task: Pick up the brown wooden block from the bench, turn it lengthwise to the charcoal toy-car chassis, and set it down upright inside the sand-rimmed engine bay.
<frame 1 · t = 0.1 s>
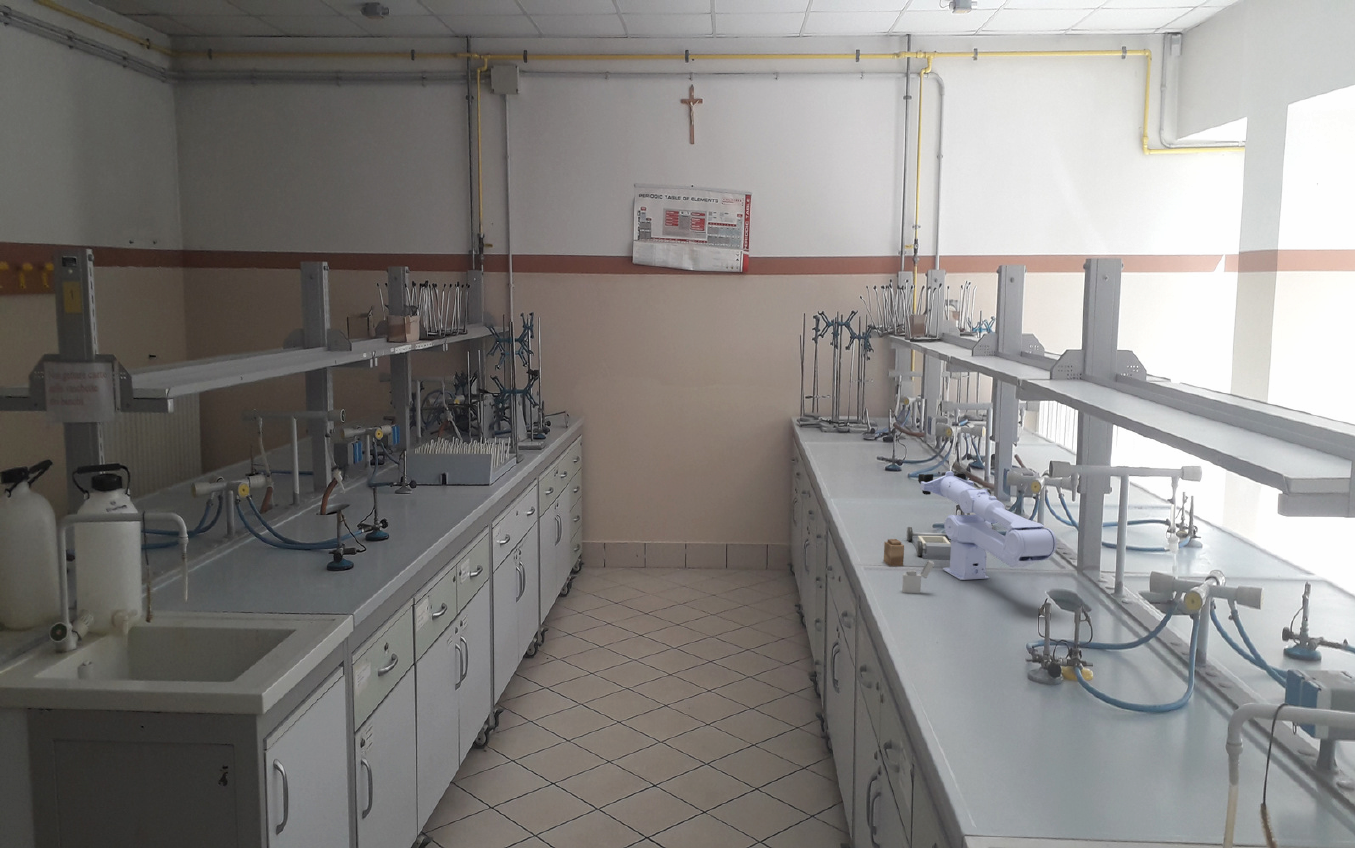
hand: (932, 477, 264), 22 cm above the worktop, tool horizontal, fingers open, 7 cm apart
brown wooden block: (893, 563, 257), on the worktop
medicine bottle: (978, 527, 299), on the worktop
chassis: (933, 548, 273), on the worktop
lighter: (917, 592, 233), on the worktop
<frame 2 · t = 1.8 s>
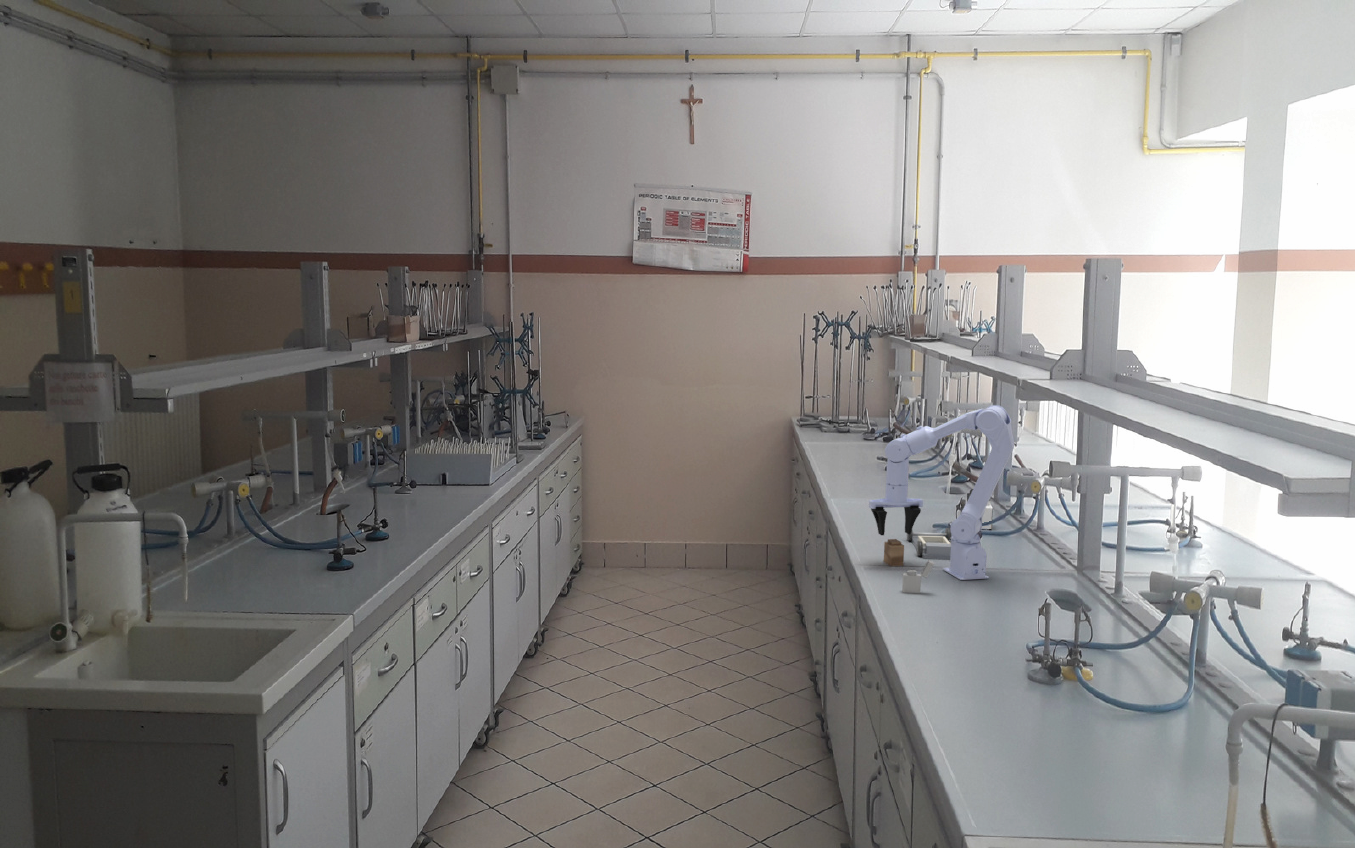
hand: (894, 533, 256), 8 cm above the worktop, tool pointing down, fingers open, 7 cm apart
nothing on the worktop moved.
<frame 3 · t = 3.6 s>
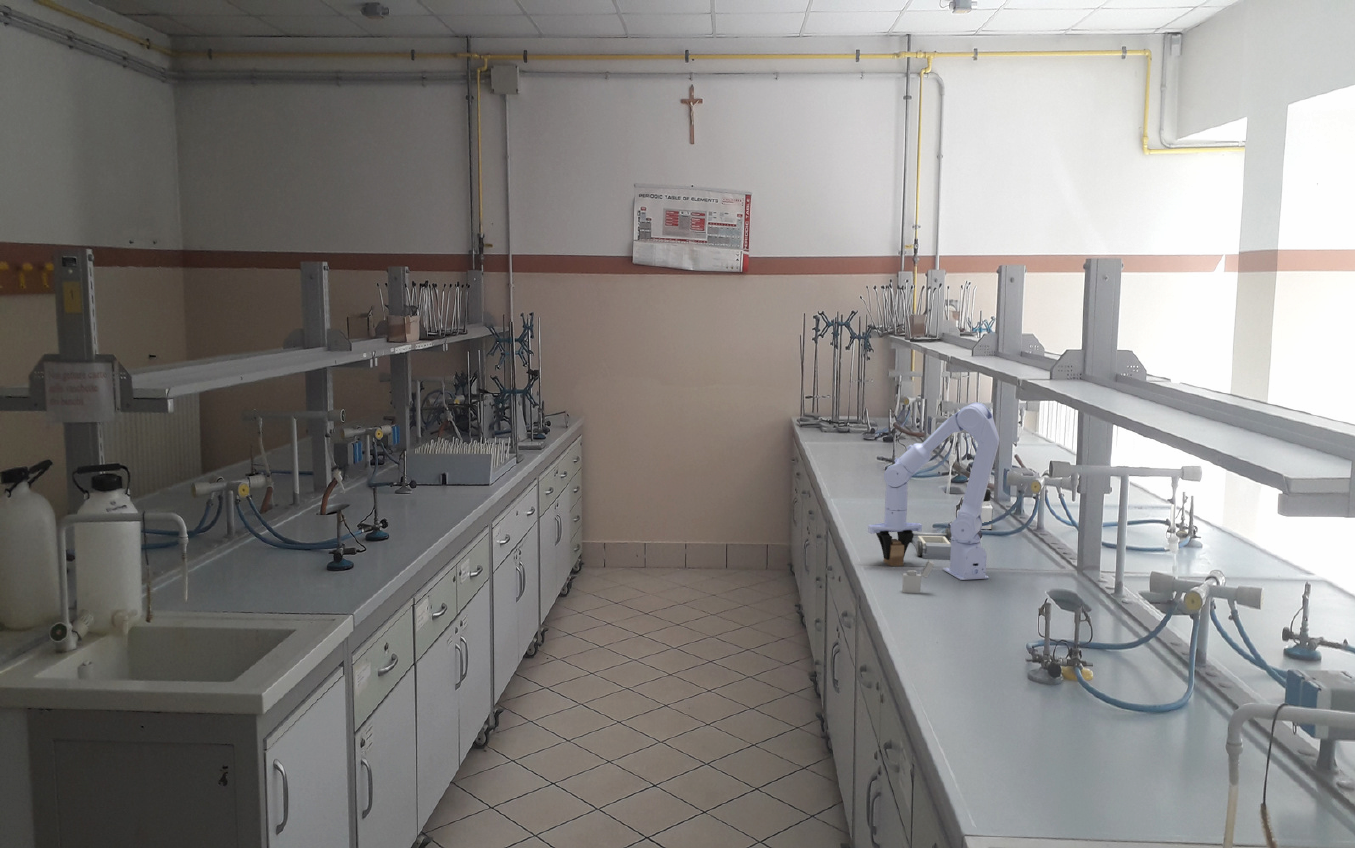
hand: (893, 558, 257), 1 cm above the worktop, tool pointing down, fingers closed on brown wooden block, 4 cm apart
brown wooden block: (893, 563, 257), on the worktop, touching gripper
everything else where it was.
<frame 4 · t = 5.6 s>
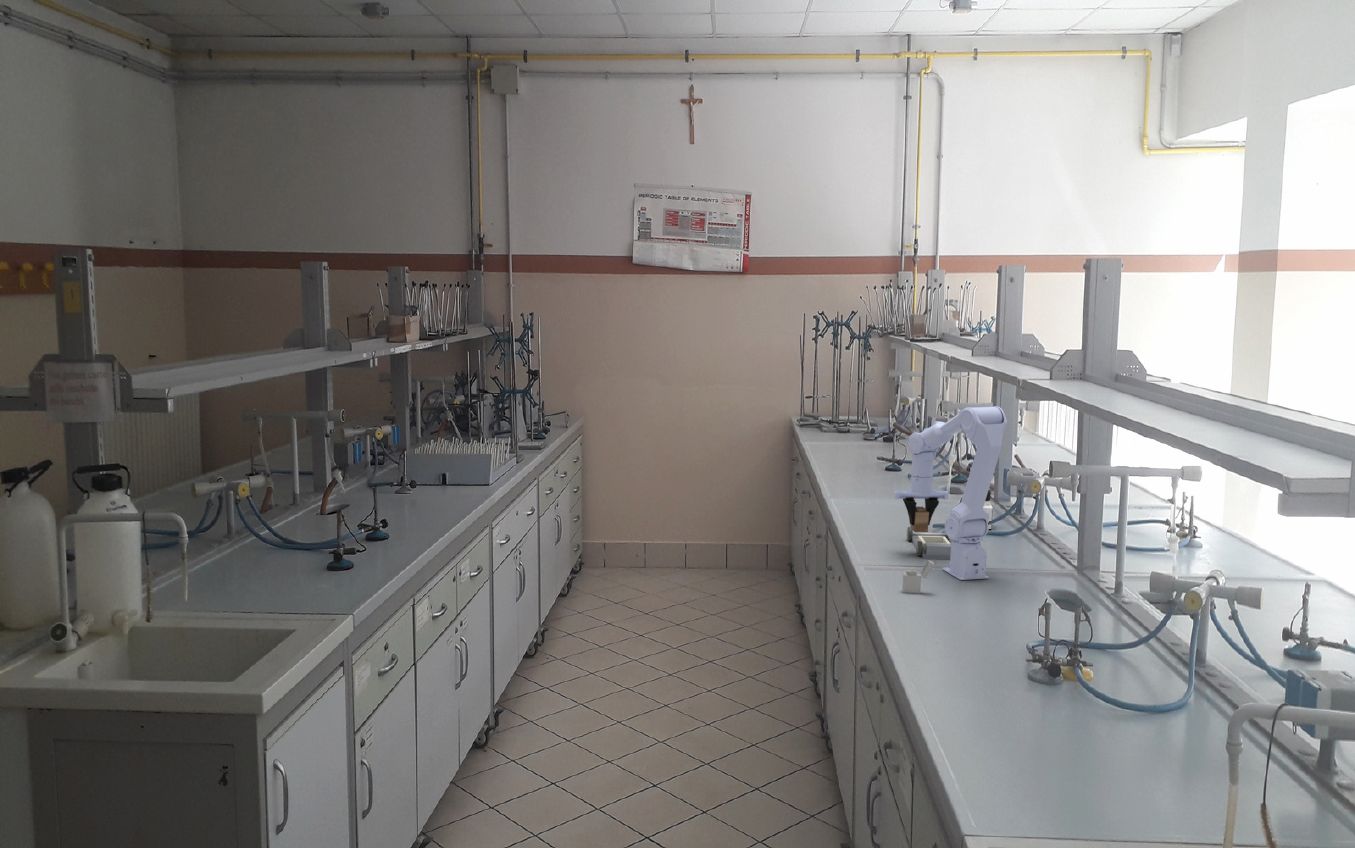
hand: (919, 524, 265), 8 cm above the worktop, tool pointing down, fingers closed on brown wooden block, 4 cm apart
brown wooden block: (918, 530, 266), point 7 cm above the worktop, touching gripper
everything else where it was.
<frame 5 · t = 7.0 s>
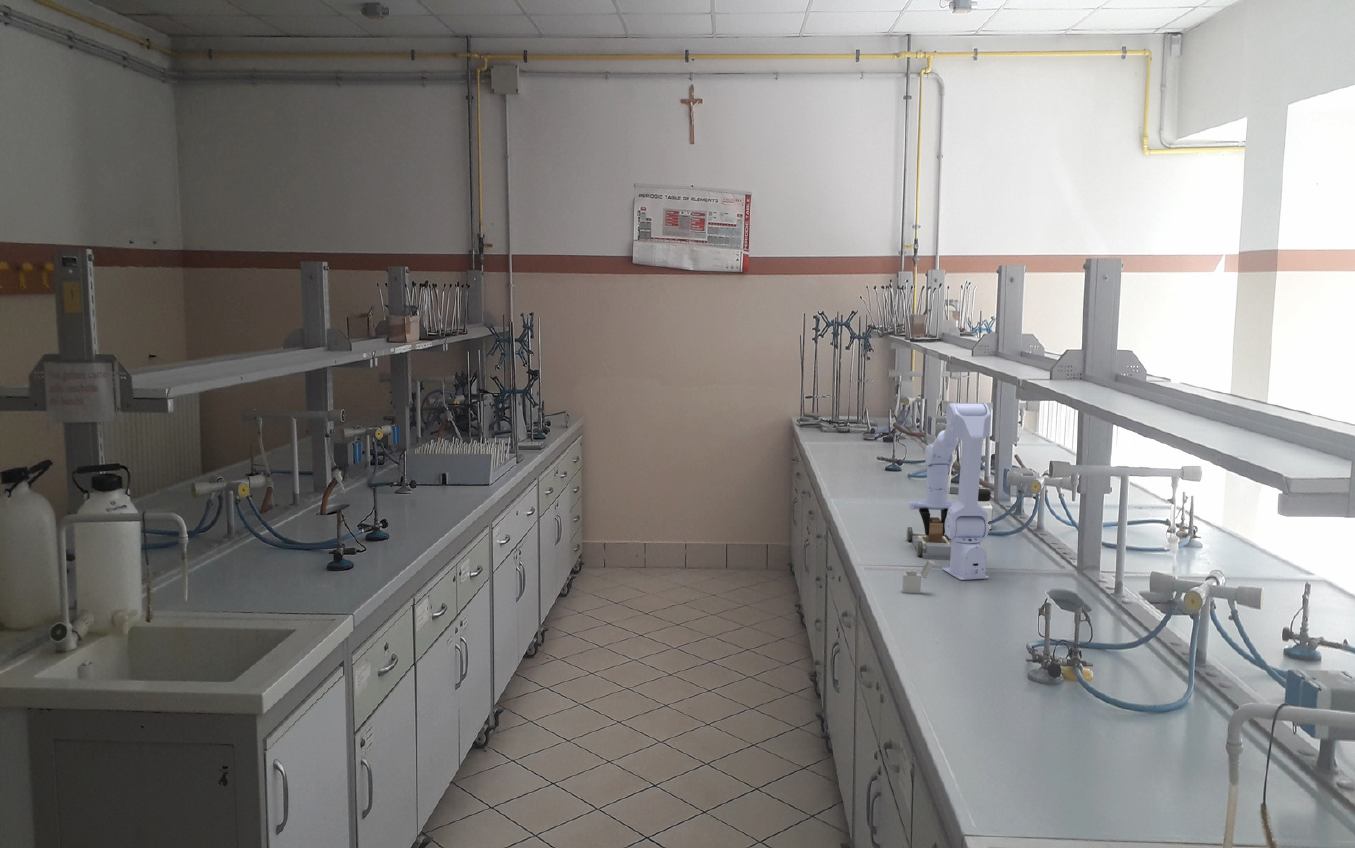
hand: (934, 534, 272), 4 cm above the worktop, tool pointing down, fingers closed on brown wooden block, 4 cm apart
brown wooden block: (934, 540, 273), point 2 cm above the worktop, touching gripper
everything else where it was.
when the fingers open (3 cm above the worktop, at t = 7.9 s): brown wooden block stays where it is, resting on chassis.
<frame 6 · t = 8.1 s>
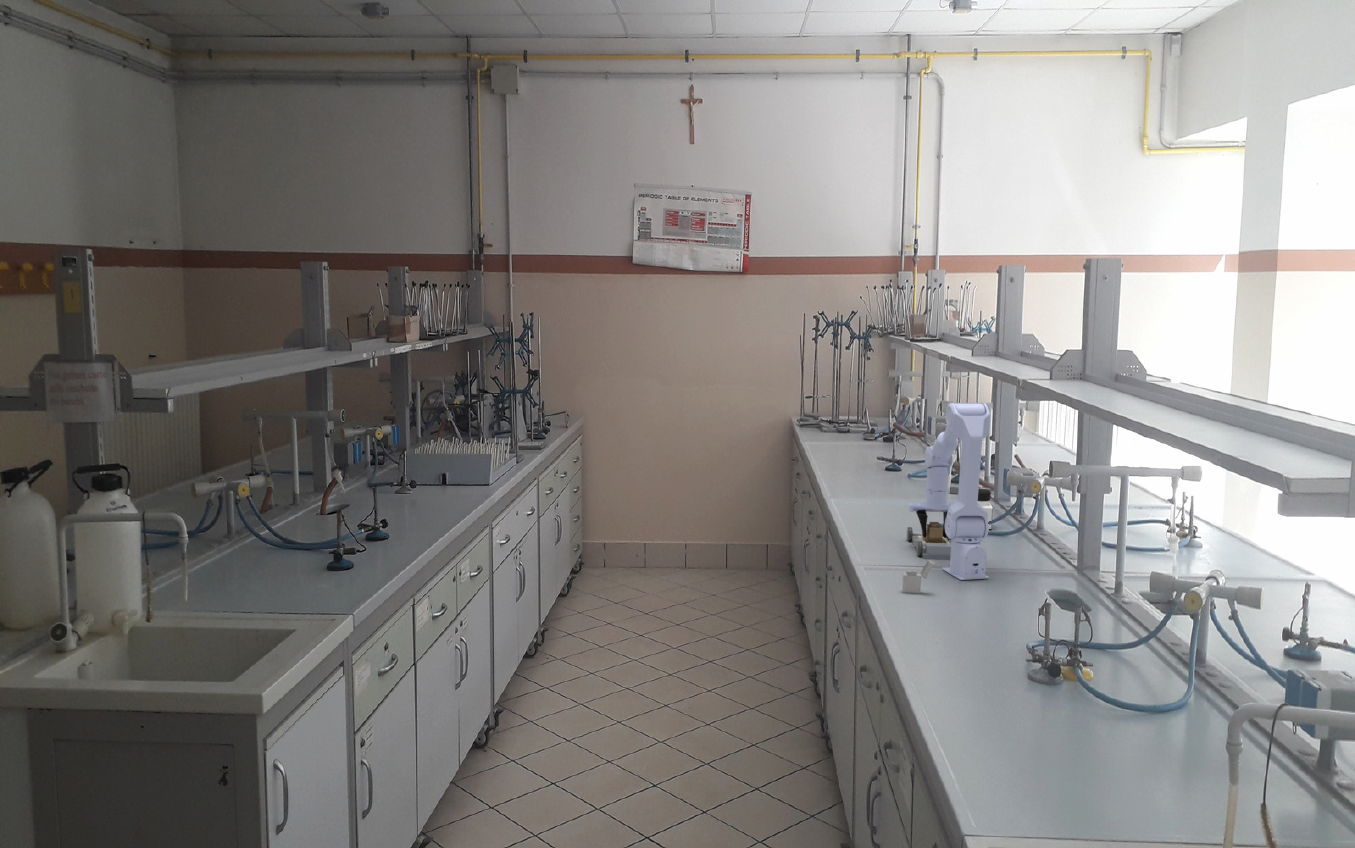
hand: (934, 536, 272), 3 cm above the worktop, tool pointing down, fingers open, 5 cm apart
brown wooden block: (933, 544, 273), point 1 cm above the worktop, touching chassis
everything else where it was.
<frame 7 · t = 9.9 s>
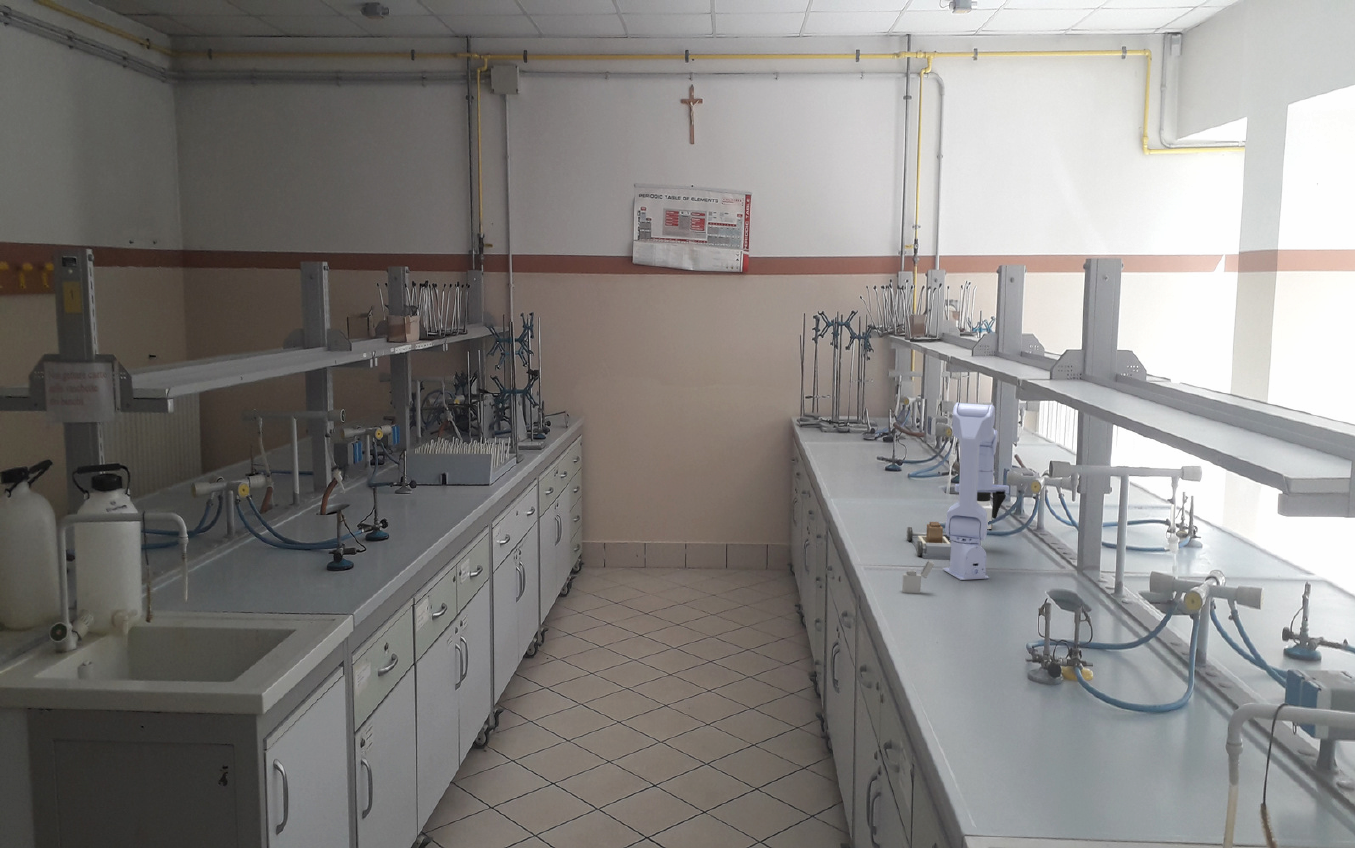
hand: (980, 517, 270), 9 cm above the worktop, tool pointing down, fingers open, 7 cm apart
nothing on the worktop moved.
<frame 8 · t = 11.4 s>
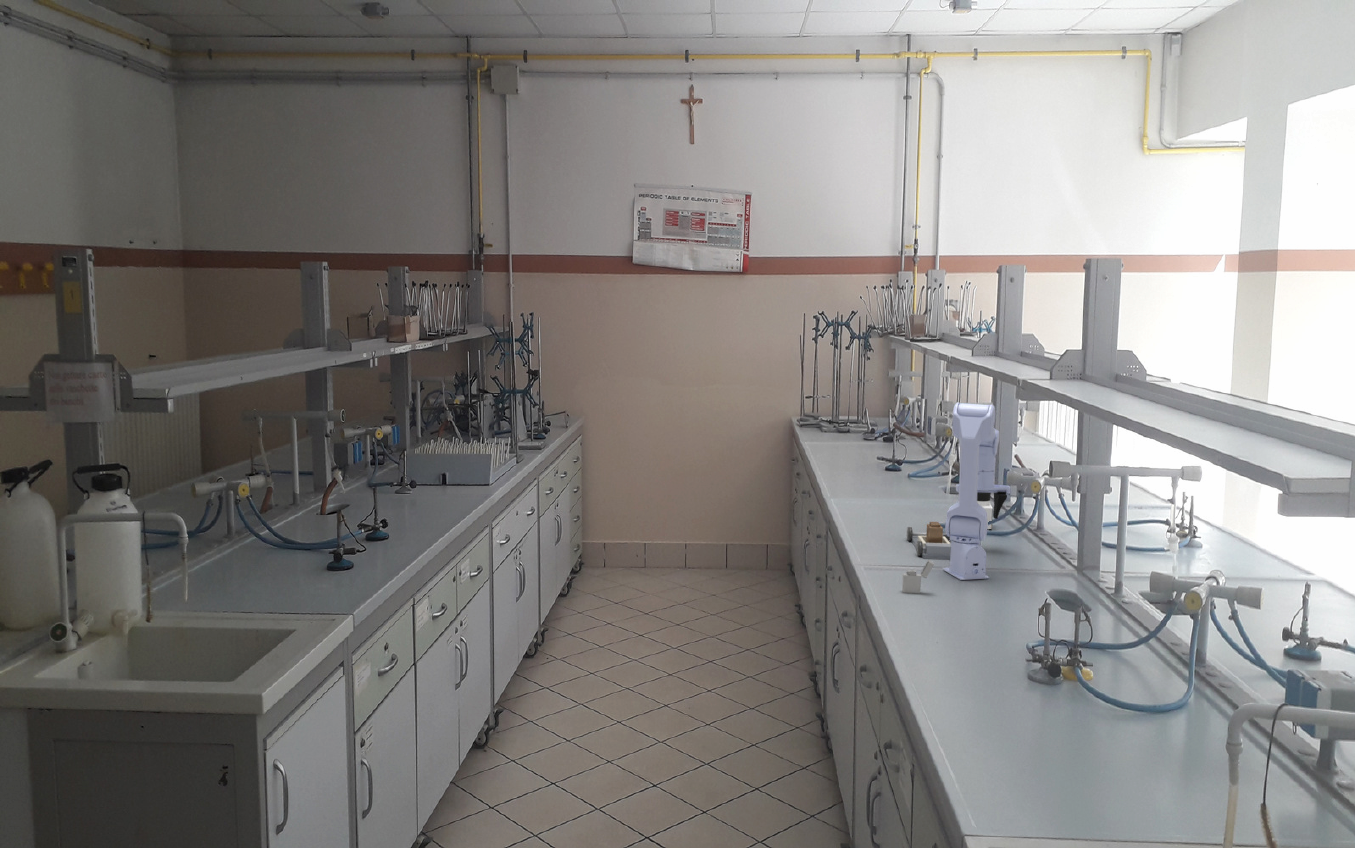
hand: (981, 517, 270), 9 cm above the worktop, tool pointing down, fingers open, 7 cm apart
nothing on the worktop moved.
at the end: brown wooden block 0.2 cm off-centre on the chassis, point 1.0 cm above the chassis's base; brown wooden block tilted 0°; the gripper is holding nothing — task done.
